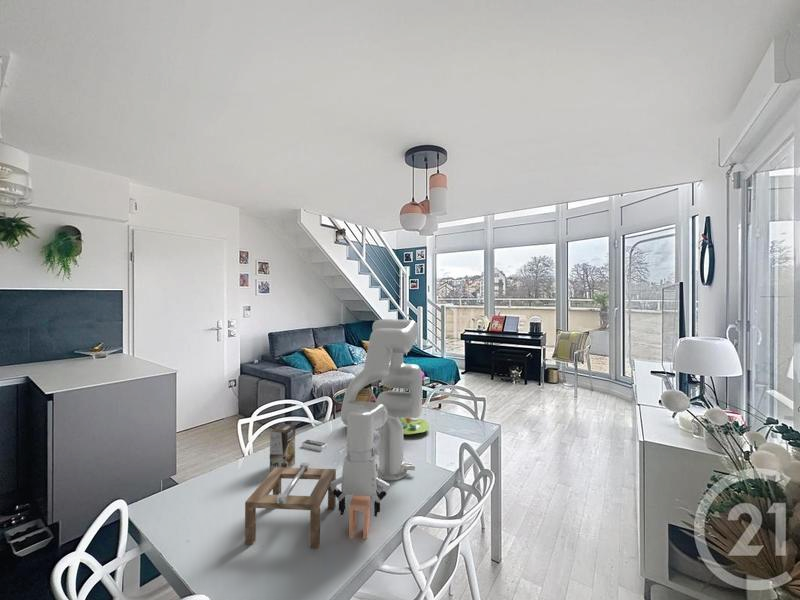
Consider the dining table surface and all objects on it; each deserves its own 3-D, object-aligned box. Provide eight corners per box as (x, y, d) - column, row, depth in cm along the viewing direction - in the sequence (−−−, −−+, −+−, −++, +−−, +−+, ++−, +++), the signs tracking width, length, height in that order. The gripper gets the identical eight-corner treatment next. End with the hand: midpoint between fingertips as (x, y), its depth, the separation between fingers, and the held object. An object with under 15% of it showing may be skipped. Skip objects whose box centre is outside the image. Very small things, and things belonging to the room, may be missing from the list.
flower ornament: (362, 433, 180) (358, 365, 180) (392, 415, 205) (389, 354, 204) (414, 443, 165) (410, 369, 164) (439, 422, 189) (436, 357, 188)
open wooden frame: (335, 506, 115) (335, 469, 115) (317, 549, 95) (317, 504, 95) (275, 503, 116) (275, 467, 116) (245, 546, 96) (245, 502, 96)
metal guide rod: (309, 468, 115) (309, 462, 115) (285, 503, 95) (285, 496, 95) (301, 468, 115) (301, 462, 115) (276, 503, 95) (276, 496, 95)
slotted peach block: (369, 525, 105) (370, 494, 105) (366, 539, 99) (367, 506, 99) (353, 524, 105) (353, 493, 105) (349, 538, 99) (349, 505, 99)
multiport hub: (321, 452, 156) (321, 447, 156) (301, 448, 160) (301, 443, 160) (327, 448, 160) (327, 443, 160) (307, 444, 164) (307, 439, 164)
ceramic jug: (367, 433, 177) (367, 373, 177) (343, 427, 186) (343, 370, 186) (386, 423, 192) (386, 367, 192) (363, 418, 200) (363, 365, 200)
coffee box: (284, 474, 135) (284, 432, 135) (269, 472, 136) (269, 431, 136) (296, 463, 144) (296, 424, 144) (281, 462, 145) (281, 423, 145)
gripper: (391, 449, 105) (390, 507, 105) (333, 447, 106) (333, 504, 106) (388, 460, 98) (388, 522, 98) (327, 458, 99) (326, 519, 99)
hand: (359, 513), depth 102 cm, fingers open, 9 cm apart
